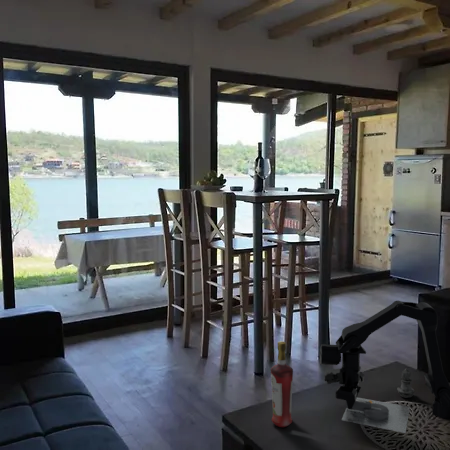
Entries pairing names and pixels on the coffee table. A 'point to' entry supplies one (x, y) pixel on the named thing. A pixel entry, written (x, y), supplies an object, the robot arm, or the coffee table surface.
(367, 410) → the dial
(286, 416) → the liquor
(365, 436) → the coffee table surface
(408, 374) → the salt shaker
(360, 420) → the panel
